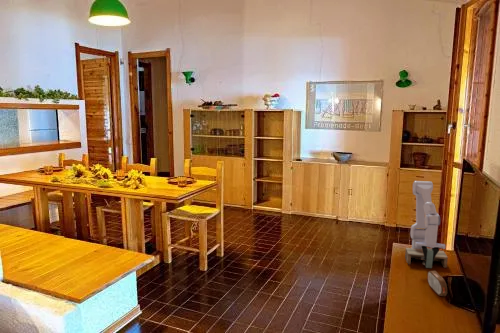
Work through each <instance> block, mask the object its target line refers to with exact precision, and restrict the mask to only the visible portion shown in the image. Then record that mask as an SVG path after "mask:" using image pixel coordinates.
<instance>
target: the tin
mask: <svg viewBox="0 0 500 333" xmlns="http://www.w3.org/2000/svg"><path fill="white" fill-rule="evenodd" d="M427 282H428V285H429V287H430V288H431V289H432V290H433V291H434V293H435V294H436V295H437V296H440V297H446V296H447V294H448V287H447V286H448V284H447V283H446V280H445V279H444V278H443V277H442V276H441V275H440V274H439V273H438V272H437V271H436V270H429V271H427Z"/></svg>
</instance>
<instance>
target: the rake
mask: <svg viewBox="0 0 500 333" xmlns="http://www.w3.org/2000/svg"><path fill="white" fill-rule="evenodd" d="M427 250H428V251H427V259H426V260H425V259H424V257H421V259H420V261H425V265H424V266H425V269H432V268H433V262H434V261H433V249H432V248H430V247H427Z"/></svg>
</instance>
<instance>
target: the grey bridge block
mask: <svg viewBox="0 0 500 333" xmlns="http://www.w3.org/2000/svg"><path fill="white" fill-rule="evenodd" d="M404 253H405V255H404V258H405V261H406V263H408V264H407V265H412V264H411V263H412V262H411V260H412V259H411V258H415V259H414V260H421V257H424V253H423V250H422V249H415V248H412V247H405V252H404ZM448 258H449V257H448V255H447V254H446V252H445V251H444V250H439V252H438V253H437V254H436V256H435V258H434V261H433V262H440V263H441V265H442V268H444V269H445V268H446V269H447V268H448Z"/></svg>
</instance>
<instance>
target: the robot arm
mask: <svg viewBox="0 0 500 333" xmlns="http://www.w3.org/2000/svg"><path fill="white" fill-rule="evenodd" d="M433 190H434V184H433V182H432V180H431V181H427V180H426V181H425V180H424V181H423V180H414V181H413V182H412V195H414V196H415V223H414V224H412V225H411V226H410V234H409V235H410V238H411V240H412V241H411V248H415V249H422V250H423V253H424V259H425V260H426V259H427V251H428V250H427V248H430V249H433V262H435V261H434V258H435V256H436V254H437V253H438V252H439V251H440V249H444V250H446V244H445V243H438V242H437V240H438V231H439V230H438V229H439V226H440V225H441V216H440V215H439V212H437V210H436V205H435V203H434V202H432V200H433V199H432V192H433ZM425 260H424V261H425Z"/></svg>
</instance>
